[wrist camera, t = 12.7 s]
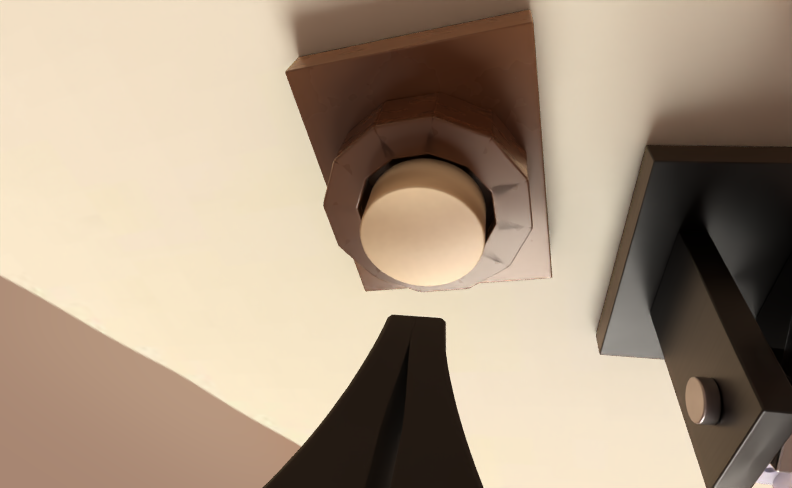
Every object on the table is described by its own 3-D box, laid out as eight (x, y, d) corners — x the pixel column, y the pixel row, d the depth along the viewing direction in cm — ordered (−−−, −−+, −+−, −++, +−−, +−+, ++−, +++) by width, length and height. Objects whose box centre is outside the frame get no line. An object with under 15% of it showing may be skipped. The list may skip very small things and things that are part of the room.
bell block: (549, 255, 22) (556, 314, 19) (371, 269, 24) (355, 325, 21) (530, 8, 16) (537, 43, 13) (297, 57, 18) (262, 95, 15)
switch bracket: (646, 144, 18) (737, 329, 11) (904, 147, 17) (1183, 358, 10) (595, 335, 24) (634, 529, 17) (781, 348, 23) (902, 563, 16)
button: (492, 249, 18) (492, 282, 17) (385, 259, 19) (377, 290, 18) (477, 149, 16) (475, 178, 14) (355, 166, 17) (343, 195, 15)
